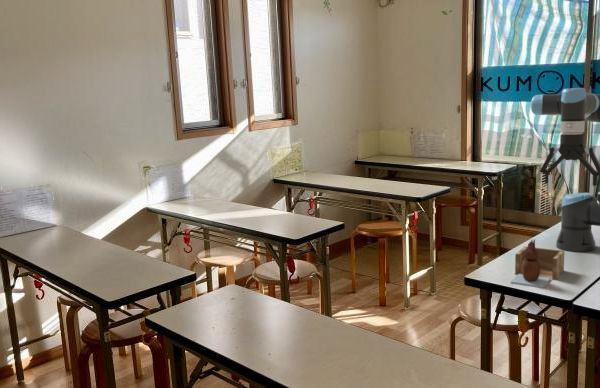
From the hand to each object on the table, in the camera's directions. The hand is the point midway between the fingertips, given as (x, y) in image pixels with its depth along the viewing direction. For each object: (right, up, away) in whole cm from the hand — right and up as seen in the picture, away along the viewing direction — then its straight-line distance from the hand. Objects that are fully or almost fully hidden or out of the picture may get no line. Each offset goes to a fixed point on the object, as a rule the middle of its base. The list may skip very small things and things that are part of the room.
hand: (570, 193), depth 208 cm
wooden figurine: (-15, -30, -2) cm, 34 cm away
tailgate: (-11, -30, +3) cm, 32 cm away
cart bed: (-8, -30, +8) cm, 32 cm away
